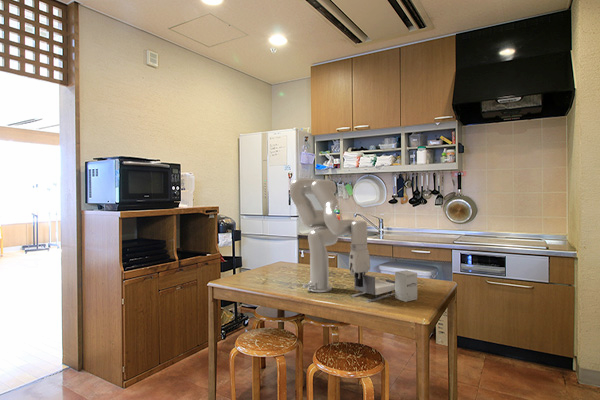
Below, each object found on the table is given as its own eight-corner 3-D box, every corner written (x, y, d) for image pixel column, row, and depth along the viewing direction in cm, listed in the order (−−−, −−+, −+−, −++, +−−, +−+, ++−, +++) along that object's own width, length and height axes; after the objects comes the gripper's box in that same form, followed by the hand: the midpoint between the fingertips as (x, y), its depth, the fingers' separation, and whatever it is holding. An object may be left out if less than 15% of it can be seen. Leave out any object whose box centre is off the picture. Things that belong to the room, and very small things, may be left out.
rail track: (370, 302, 160) (370, 294, 160) (348, 296, 171) (348, 287, 171) (409, 292, 176) (409, 284, 176) (386, 286, 188) (386, 279, 188)
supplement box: (405, 302, 160) (405, 274, 160) (394, 298, 167) (394, 271, 167) (417, 299, 164) (417, 272, 164) (406, 295, 170) (406, 269, 170)
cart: (375, 299, 161) (374, 277, 161) (353, 293, 173) (352, 272, 172) (396, 293, 170) (396, 273, 170) (374, 288, 182) (373, 268, 182)
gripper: (353, 249, 157) (353, 290, 158) (376, 246, 166) (376, 285, 167) (341, 247, 164) (342, 287, 164) (364, 244, 172) (364, 282, 173)
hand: (359, 286), depth 165 cm, fingers closed
